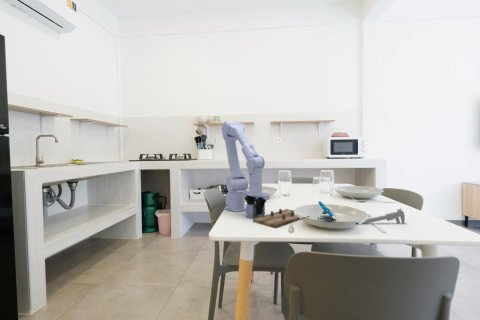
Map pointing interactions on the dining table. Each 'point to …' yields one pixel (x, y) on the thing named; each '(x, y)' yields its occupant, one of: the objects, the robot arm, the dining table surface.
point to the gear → (325, 209)
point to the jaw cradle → (277, 218)
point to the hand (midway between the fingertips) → (255, 213)
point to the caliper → (388, 217)
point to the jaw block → (253, 211)
